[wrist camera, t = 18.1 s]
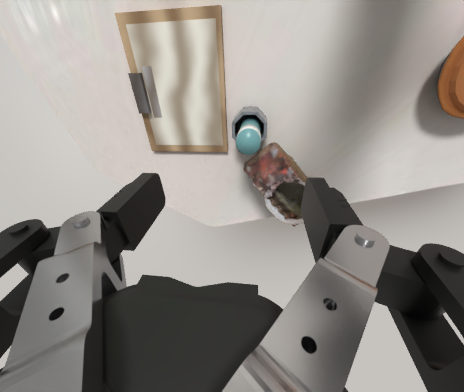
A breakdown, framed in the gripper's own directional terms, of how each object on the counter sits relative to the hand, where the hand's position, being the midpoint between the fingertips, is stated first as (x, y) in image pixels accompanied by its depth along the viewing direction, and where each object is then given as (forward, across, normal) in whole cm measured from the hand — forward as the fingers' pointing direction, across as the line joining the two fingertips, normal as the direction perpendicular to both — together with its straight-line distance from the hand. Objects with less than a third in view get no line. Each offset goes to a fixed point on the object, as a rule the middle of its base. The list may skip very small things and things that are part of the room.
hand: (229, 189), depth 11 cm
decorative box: (+33, -7, +16) cm, 38 cm away
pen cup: (+33, 0, +4) cm, 33 cm away
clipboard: (+33, +14, -2) cm, 36 cm away
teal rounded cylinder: (+32, 0, +4) cm, 33 cm away
